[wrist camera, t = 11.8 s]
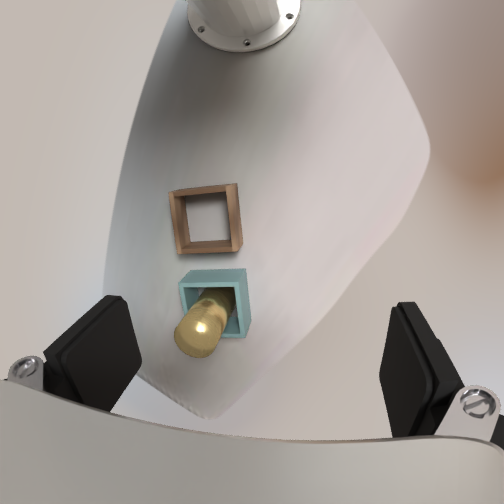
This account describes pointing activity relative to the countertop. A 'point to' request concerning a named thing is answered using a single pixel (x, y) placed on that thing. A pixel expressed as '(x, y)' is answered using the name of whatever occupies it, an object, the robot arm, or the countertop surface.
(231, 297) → the gold domed peg
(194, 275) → the block
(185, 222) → the socket block
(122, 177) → the countertop surface
